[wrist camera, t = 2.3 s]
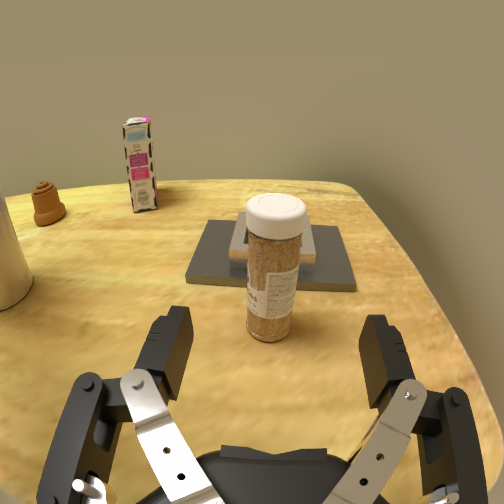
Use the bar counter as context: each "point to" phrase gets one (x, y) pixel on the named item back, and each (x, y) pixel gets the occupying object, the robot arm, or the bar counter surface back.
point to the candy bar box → (140, 163)
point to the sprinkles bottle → (273, 262)
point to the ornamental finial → (47, 204)
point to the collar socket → (236, 257)
